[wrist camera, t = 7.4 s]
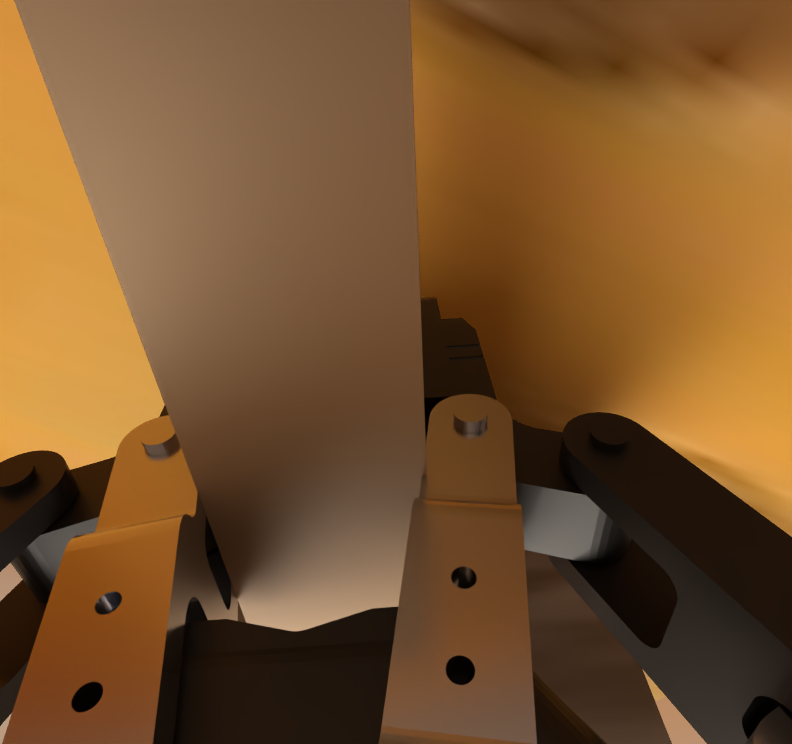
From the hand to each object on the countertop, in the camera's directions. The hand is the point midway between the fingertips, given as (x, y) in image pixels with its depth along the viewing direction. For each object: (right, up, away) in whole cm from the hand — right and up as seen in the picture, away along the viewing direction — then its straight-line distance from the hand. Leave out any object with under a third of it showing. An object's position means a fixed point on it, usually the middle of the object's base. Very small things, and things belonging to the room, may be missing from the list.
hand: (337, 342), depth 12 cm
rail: (0, -1, +2) cm, 2 cm away
